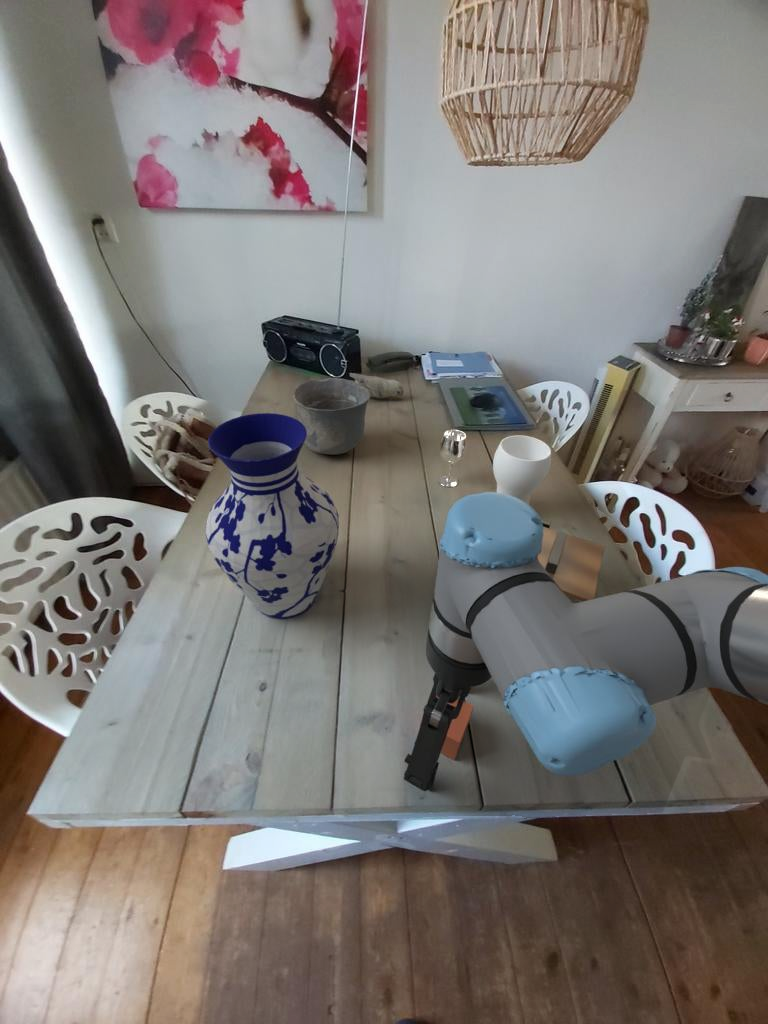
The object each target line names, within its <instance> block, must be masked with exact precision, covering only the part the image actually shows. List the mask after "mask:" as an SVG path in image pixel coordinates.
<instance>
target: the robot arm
mask: <svg viewBox="0 0 768 1024" xmlns="http://www.w3.org/2000/svg"><path fill="white" fill-rule="evenodd" d="M496 492H497V491H496ZM496 492H495V491H483V492H481V493H471V494H468V495H466V496H463V497H462V498H460V499H458V500H457V501H456V502H455V503H454V504H453V505H452V506H451V508H450V509H449V510H448V512H447V515H446V521H445V525H444V530H443V533H442V535H441V537H440V539H439V553H438V562H437V568H436V569H437V570H436V577H435V584H434V585H435V586H434V592H433V597H432V602H431V608H430V615H429V619H428V630H427V637H426V643H425V656H426V659H427V662H428V664H429V666H430V668H431V669H432V670H433V672H434V675H433V677H432V680H433V685H432V687H431V688H432V689H431V691H430V694H429V697H428V699H427V702H426V704H425V705H424V706H423V714H422V717H421V721H422V722H421V721H420V724H421V726H420V725H419V728H418V732H417V736H416V738H415V741H414V745H413V748H412V751H411V754H410V753H408V754H407V755H406V756H405V758H404V760H403V761H404V763H405V764H407V767H406V769H405V771H404V774H403V781H406V782H407V783H409V784H410V785H413V786H414V787H416V788H417V789H419V790H421V791H423V792H424V793H425V792H427V791H429V792H431V791H432V789H433V787H434V783H435V779H436V775H437V772H438V768H439V765H440V762H439V761H438V760H439V758H440V756H441V750H442V747H443V744H444V742H445V739H446V736H447V733H448V730H449V727H450V725H451V722H452V719H456V718H457V717H458V715H459V713H460V711H461V708H462V705H463V703H464V702H465V701H466V700H465V699H466V698H467V697H468V696H469V694H470V693H471V691H472V688H473V687H478V686H481V685H483V684H485V683H487V682H489V680H491V679H492V680H493V682H494V684H495V686H496V688H497V690H498V692H499V694H500V696H501V698H502V700H503V705H504V707H505V709H506V711H507V713H508V714H509V716H510V717H511V718H512V719H513V720H514V721H515V723H516V725H517V726H518V728H519V730H520V732H521V733H522V735H523V737H524V738H525V740H526V741H527V743H528V745H529V747H530V748H531V750H532V752H533V753H534V755H535V757H536V758H537V760H538V761H539V763H540V764H541V765H542V766H543V767H544V768H545V769H546V770H547V771H549V772H551V773H552V774H555V775H559V776H564V777H572V776H580V775H583V774H587V773H591V772H593V771H596V770H599V769H601V768H603V767H605V766H607V765H608V764H610V763H612V762H614V761H618V760H620V759H622V758H624V757H625V756H628V755H629V754H630V753H632V752H633V751H634V750H637V749H638V748H639V747H640V746H642V745H643V744H644V743H645V742H646V741H647V740H648V739H649V738H651V736H652V735H653V733H654V731H655V730H656V727H657V715H656V713H655V711H654V708H652V706H651V705H655V704H659V703H661V702H665V701H667V700H670V699H673V698H675V697H679V696H683V695H686V694H688V693H692V692H695V691H699V690H701V689H704V688H705V689H706V688H714V689H720V690H723V691H725V692H728V693H731V694H734V695H736V696H739V697H742V698H747V699H749V700H753V701H755V702H759V703H761V704H765V705H767V706H768V574H766V573H764V572H762V571H761V570H758V569H755V568H751V567H745V566H730V567H722V568H714V569H712V568H711V569H699V570H695V571H694V572H692V573H688V574H687V573H686V574H685V575H683V576H679V577H675V578H671V579H667V580H663V581H659V582H656V583H652V584H648V585H644V586H640V587H636V588H632V589H629V590H628V589H627V590H625V591H620V592H616V593H614V594H613V593H612V594H610V595H604V596H601V597H597V598H594V599H592V600H587V601H579V602H572V601H571V598H570V597H569V596H566V595H565V594H564V593H563V592H562V591H561V589H560V587H559V586H558V585H557V584H556V583H555V581H554V580H553V579H552V577H551V576H550V575H549V573H548V572H547V571H546V570H545V568H544V567H543V566H542V565H541V563H540V562H539V560H538V555H539V554H540V552H541V550H542V548H541V546H542V539H543V535H544V533H543V524H542V522H541V520H542V518H541V516H540V515H539V514H538V512H537V510H535V509H534V508H533V507H532V506H531V505H530V504H529V505H528V504H527V503H525V502H524V501H522V500H520V499H518V498H516V497H513V496H510V495H507V494H503V493H496ZM436 695H437V697H438V698H439V699H438V698H437V697H436ZM457 699H459V700H458V703H457V706H456V707H454V706H452V705H450V704H448V703H454V702H455V701H456V700H457Z"/></svg>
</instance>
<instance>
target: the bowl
mask: <svg viewBox="0 0 768 1024" xmlns="http://www.w3.org/2000/svg"><path fill="white" fill-rule="evenodd" d="M292 397H293V400H294V404H295V411H296V412H295V413H296V420H298V421H299V422H301V423H302V424H303V425H304V426H305V428H306V431H307V436H306V439H305V441H304V444H303V446H305V447H306V448H307V449H308V450H309V451H312V452H315V453H316V454H322V455H332V456H334V455H342V454H346V453H348V452H349V451H351V450H353V449H355V448H356V447H357V446H358V445H359V443H360V442H361V440H362V438H363V436H364V432H365V425H366V412H367V406H368V403H369V400H370V399H371V396H370V393H369V391H368V390H367V389H365V387H362V386H361V387H359V383H356V382H355V380H351V379H350V380H349V379H345V378H338V377H328V378H326V379H311V380H307V381H304V382H302V383H300V384H299V385H297V386H296V388H295V389H294V391H293V394H292Z"/></svg>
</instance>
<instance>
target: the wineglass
mask: <svg viewBox="0 0 768 1024" xmlns="http://www.w3.org/2000/svg"><path fill="white" fill-rule="evenodd" d="M467 441H468V440H467V435H466V433H465V432H463V431H461V430H458V429H448V430H445V431H444V432H443V434H442V437H441V440H440V443H439V450H438V451H439V455H440V458H441V459H442V460H443V461H445V462H447V463H448V465H447V466H448V474H447V475H441V476H440V477H439V478H438V483H439V485H441V486H442V487H445V488H455V487H456V486H458V484H459V480H458V479H457V478H456V477H455V476H452V475H451V471H452V469H453V467H454V464H456V463H459V462H461V461H462V460H463V459H464V458H465V456H466V453H467V450H468V449H467V446H468V445H467V444H468V443H467Z"/></svg>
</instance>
